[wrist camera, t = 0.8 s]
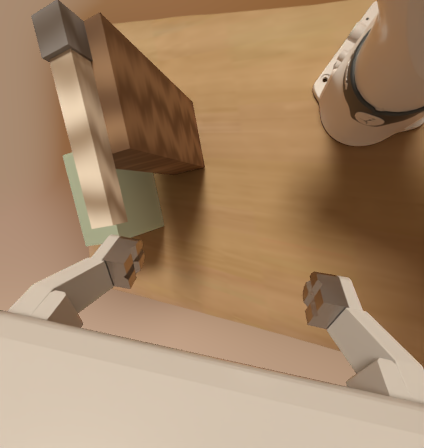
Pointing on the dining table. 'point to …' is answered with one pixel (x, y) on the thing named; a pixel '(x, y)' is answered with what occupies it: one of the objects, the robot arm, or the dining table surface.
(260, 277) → the dining table surface
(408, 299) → the dining table surface
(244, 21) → the dining table surface
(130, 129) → the brown wooden block
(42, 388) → the robot arm
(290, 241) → the dining table surface
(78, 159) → the baton
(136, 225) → the box
